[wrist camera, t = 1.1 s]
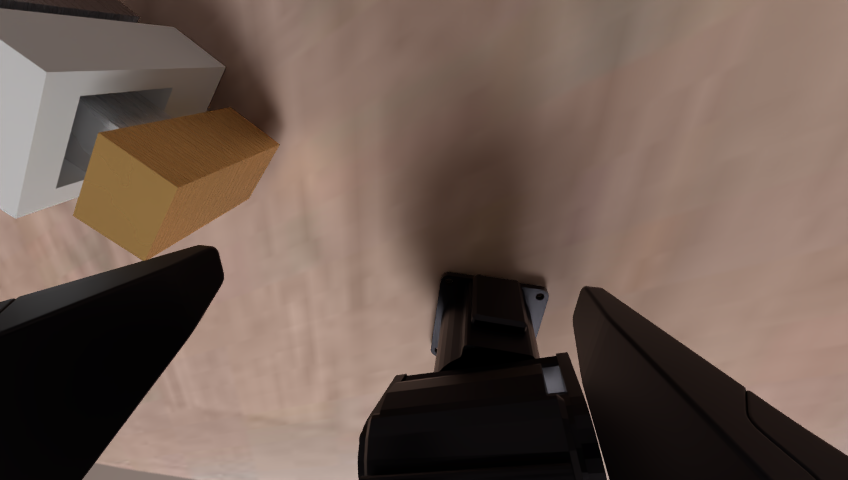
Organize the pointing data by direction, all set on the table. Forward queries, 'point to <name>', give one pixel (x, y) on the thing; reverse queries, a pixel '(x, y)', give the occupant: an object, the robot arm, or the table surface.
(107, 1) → the block
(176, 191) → the shaft
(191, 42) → the block
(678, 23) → the table surface
